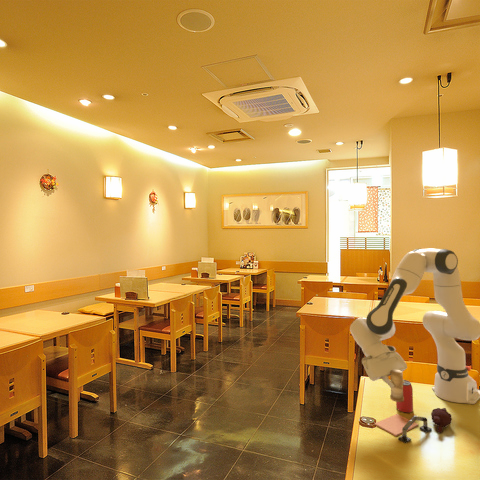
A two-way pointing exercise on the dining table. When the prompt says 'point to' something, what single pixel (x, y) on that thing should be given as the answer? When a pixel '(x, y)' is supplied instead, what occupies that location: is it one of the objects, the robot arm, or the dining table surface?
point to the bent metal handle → (410, 422)
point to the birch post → (397, 386)
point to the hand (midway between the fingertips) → (398, 385)
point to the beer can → (406, 398)
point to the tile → (395, 424)
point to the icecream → (441, 418)
